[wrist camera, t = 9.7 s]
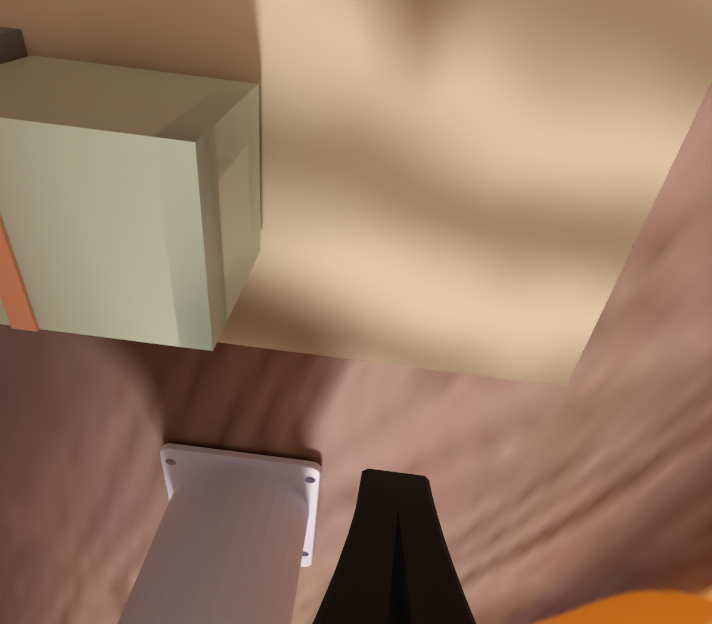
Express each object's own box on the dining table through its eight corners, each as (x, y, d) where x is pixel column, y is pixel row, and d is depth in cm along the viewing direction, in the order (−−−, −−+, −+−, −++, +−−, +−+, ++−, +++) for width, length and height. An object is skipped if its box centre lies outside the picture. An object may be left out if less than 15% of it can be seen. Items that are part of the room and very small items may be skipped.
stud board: (556, 361, 20) (609, 503, 15) (16, 291, 20) (-119, 410, 15) (748, -73, 12) (1011, -92, 7) (-151, -186, 12) (-568, -289, 7)
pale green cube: (260, 251, 16) (211, 354, 12) (74, 227, 16) (-38, 321, 12) (258, 83, 13) (193, 144, 9) (32, 55, 13) (-137, 102, 9)
